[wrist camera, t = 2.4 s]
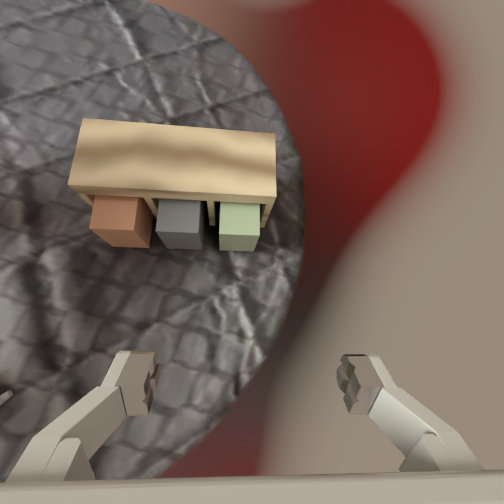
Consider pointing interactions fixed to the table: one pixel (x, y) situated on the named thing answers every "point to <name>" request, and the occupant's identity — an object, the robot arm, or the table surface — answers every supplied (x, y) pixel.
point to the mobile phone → (5, 396)
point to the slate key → (181, 223)
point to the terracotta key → (122, 220)
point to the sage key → (239, 226)
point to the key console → (174, 164)
